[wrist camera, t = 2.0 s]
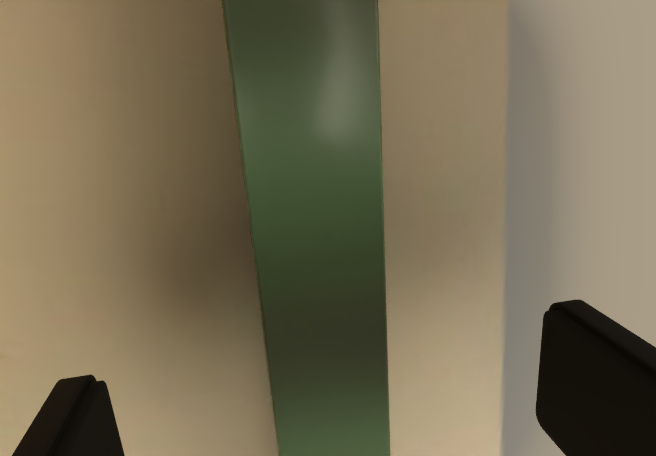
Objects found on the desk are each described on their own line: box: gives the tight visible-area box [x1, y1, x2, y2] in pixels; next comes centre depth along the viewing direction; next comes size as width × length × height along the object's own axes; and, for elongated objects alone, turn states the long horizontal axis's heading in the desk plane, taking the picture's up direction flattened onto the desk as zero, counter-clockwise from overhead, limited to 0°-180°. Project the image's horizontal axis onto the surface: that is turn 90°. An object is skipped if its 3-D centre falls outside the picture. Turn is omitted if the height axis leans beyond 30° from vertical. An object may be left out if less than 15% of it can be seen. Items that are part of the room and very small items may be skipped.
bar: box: [221, 0, 390, 456], centre depth 13 cm, size 20×3×4 cm, turn 4°
